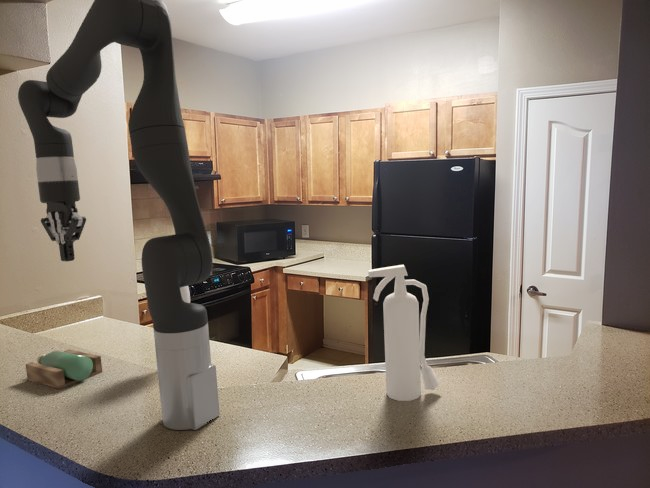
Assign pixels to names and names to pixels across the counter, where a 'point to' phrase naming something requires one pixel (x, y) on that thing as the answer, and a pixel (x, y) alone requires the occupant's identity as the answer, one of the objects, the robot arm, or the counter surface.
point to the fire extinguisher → (404, 336)
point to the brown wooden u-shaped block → (59, 372)
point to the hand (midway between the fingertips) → (67, 260)
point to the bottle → (68, 364)
